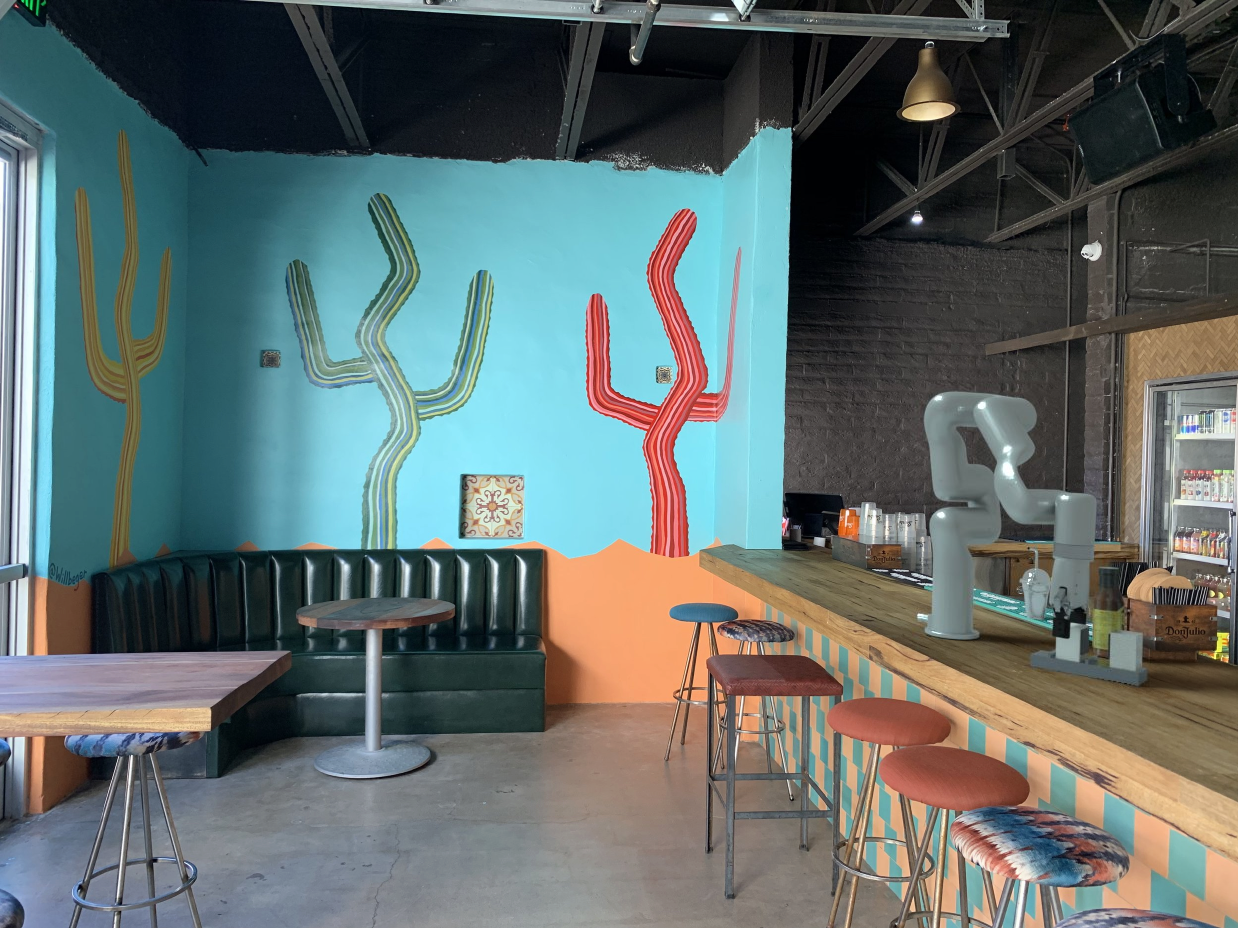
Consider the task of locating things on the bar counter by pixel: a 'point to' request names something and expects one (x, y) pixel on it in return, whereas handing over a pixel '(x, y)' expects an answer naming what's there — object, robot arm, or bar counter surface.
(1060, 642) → the finger block
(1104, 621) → the sauce bottle
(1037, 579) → the cup with straw
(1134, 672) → the rail
